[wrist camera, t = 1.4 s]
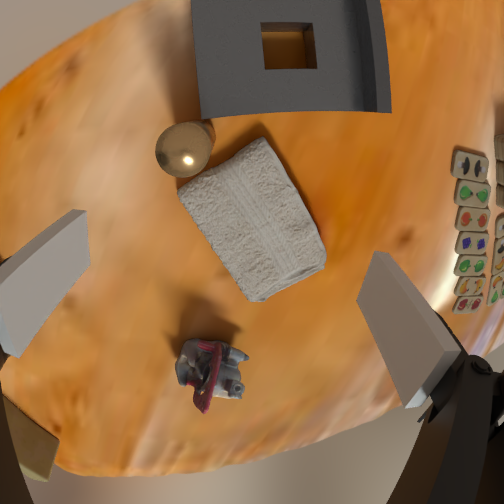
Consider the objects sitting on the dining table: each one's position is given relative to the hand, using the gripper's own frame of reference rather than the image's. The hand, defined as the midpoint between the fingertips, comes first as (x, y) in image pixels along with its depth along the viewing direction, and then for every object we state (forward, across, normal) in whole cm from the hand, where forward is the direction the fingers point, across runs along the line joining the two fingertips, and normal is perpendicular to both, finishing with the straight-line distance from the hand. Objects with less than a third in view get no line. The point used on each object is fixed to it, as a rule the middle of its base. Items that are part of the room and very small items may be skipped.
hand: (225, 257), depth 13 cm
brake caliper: (+22, +1, +29) cm, 36 cm away
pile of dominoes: (+26, -47, +1) cm, 54 cm away
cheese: (+18, +49, +66) cm, 84 cm away
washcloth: (+23, -3, +7) cm, 24 cm away
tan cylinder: (+22, +5, -2) cm, 23 cm away
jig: (+23, -2, -14) cm, 27 cm away
